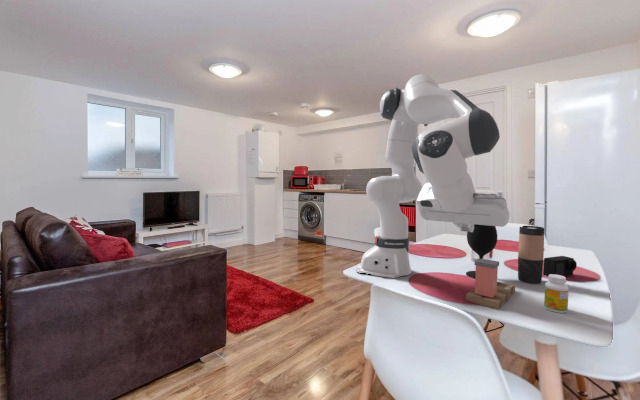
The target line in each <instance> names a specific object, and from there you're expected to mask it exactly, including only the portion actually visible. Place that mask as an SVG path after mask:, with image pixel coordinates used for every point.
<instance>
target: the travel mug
mask: <svg viewBox="0 0 640 400" xmlns="http://www.w3.org/2000/svg"><path fill="white" fill-rule="evenodd" d="M518 232H519V235H518V251H517V252H518V253H517V279H518V281H520V282H523V283H527V284H532V285H533V284H535V285H538V284H541V283H542V278H543V270H544V256H545V255H544V254H545V253H544V252H545V251H544V250H545V228H544V227H542V226H536V225H535V226H534V225H522V226H519V231H518Z"/></svg>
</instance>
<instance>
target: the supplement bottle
mask: <svg viewBox="0 0 640 400" xmlns="http://www.w3.org/2000/svg"><path fill="white" fill-rule="evenodd" d="M547 277H548V278H547V279H548V281H546V282H545V284H544V300H543V301H544V302H543V307H544V309H546V310H548V311H549V312H550V311H551V312H552V313H553V312H554V313H559V314H564V313H567V312H568V310H569V308H568V307H569V291H570V288H569V285H567V284H566V282H567V278H566V277H564V276H561V275H555V274H550V275H549V276H547Z"/></svg>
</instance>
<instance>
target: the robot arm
mask: <svg viewBox="0 0 640 400" xmlns="http://www.w3.org/2000/svg"><path fill="white" fill-rule="evenodd" d="M379 101H380V102H379V110H380V116H381V117H382V119H384V120H388V121H391V122H390V127H389V129H388V134H387V140H386V141H387V142H386V147H385V148H386V149H385V153H384V155H385V156H384V160H385V162H386V163H387V164H388V165H389V166H390V167H391V175H380V176H377V177H373V178H371V179H370V180H369V181H368V182H367V184H366V188H365V190H366V191H365V192H366V196H367V198H368V200H369V201H370V202H371V203H372V204H373V205H374V206H375V208H376V210H377V212H378V216H379V228H380V229H379V233H380V234H379V235H375V237H374V244H375V245H374V246H372V247H371V248H369V249H368V250H366V251H365V252H364V253H363V254H362V257H361V260H360V261H361V262H360V263H358V264H357V265H358V266H357V265H356V266H355V271H356V270H357V271H358V272H361V273H366V274H365V275H368V274H371V275H370V276H376V277H383V278H389V279H391V278H392V279H397V278H399V277H406V276H409V275H410V274H412V268H411V264H410V255H409V252H410V238H409V218H408V217H407V215H406V214H404V213H403V212H402V210H401V207H400V203H401V204H403V203H410V202H413V201H416V204H417V209H418V212H419V215H420V216H421V218H422V219H424V220H426V221H434V222H445V223H446V222H448V223H452V224H453V225H455V226H456V227H458V228H459V230H460V232H466V233H467V232H473V230H474V224H477V225H488V226H495V227H502V228H503V227H505V226H506V225H508V222H509V220H510V211H509V209H508V205H507V200H506V198H505V197H502V196H501V195H498V194H496V193H482V192H481V193H478V192H477V193H476V189H475V187H474V184H473V181H472V178H471V176H470V174H469V173H468V164H467V162H466V159H469V158H472V157H474V156H481V155H483V154H487V153H491V152H492V150H493V149H494V147H495V146H497V143H498V142H499V140H500V138H501V137H500V129H499V126H498V123H497V121H496V119H495V118H494V117H493V116H492V115H491V113H490V112H488V111H486V110H484V109H481V108H480V107H478V106H477V105H476V104H475V103H474V102H472V101H471V100H469V99H468V98H467V97H466V96H465V95H463V93H461V92H460V91H458V90H456V89H445V88H441V87H440V86H439V84H438V83H437V82H436V80H435V79H433V77H431V76H430V75H427V74H424V73H423V74H422V73H420V74H416V75H414V76H411V77H410V78H409V80H408V81H407V82H406V84H405V86H404V88H399V87H395V88H392V89H388V90H387V91H385V92H383V95H382V96H381V98H380V100H379ZM447 119H452V120H449V121H446V122H444V123H441V124H438V125H437V126H433V127H431V128H428V129H426V130H424V131H422V132H420V133H418V130H419V126H420V125H423V126H424V127H427V126H428V125H431V124H434V123H437V122H440V121H444V120H447ZM415 163H416V164H415ZM415 165H417V168H418V170H419V172H421V173H422V174H423V175H424V177H425V179H426V181H427V182H425V183H424V184H423V185H422V183H421V181H420V180H419V179H418V178H417V174H416V171H415ZM358 269H359V270H358Z"/></svg>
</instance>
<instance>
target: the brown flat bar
mask: <svg viewBox="0 0 640 400" xmlns="http://www.w3.org/2000/svg"><path fill="white" fill-rule="evenodd" d="M515 292H516V285H515V284H510V283H505V282H501V281H497V294H496V295H495V296H494V297H493V298H491V297H487V296H483V295H479V294H475V287H474V288H472V289H471V290H470V291H469V292H466V294H465V301H466V302H468V301H470V302H469V303H472V302H474V303H473V304H476V303H478V304H477V305H479V304H481V305H480V306H483V305H484V307H488V308H490V309H491V308H492V309H494V310H500V308H501V307H502V306H503V305H504V304H505V303H506V302H507V300H508V299H510V297H511V296H512V295H513V294H514V293H515Z"/></svg>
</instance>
